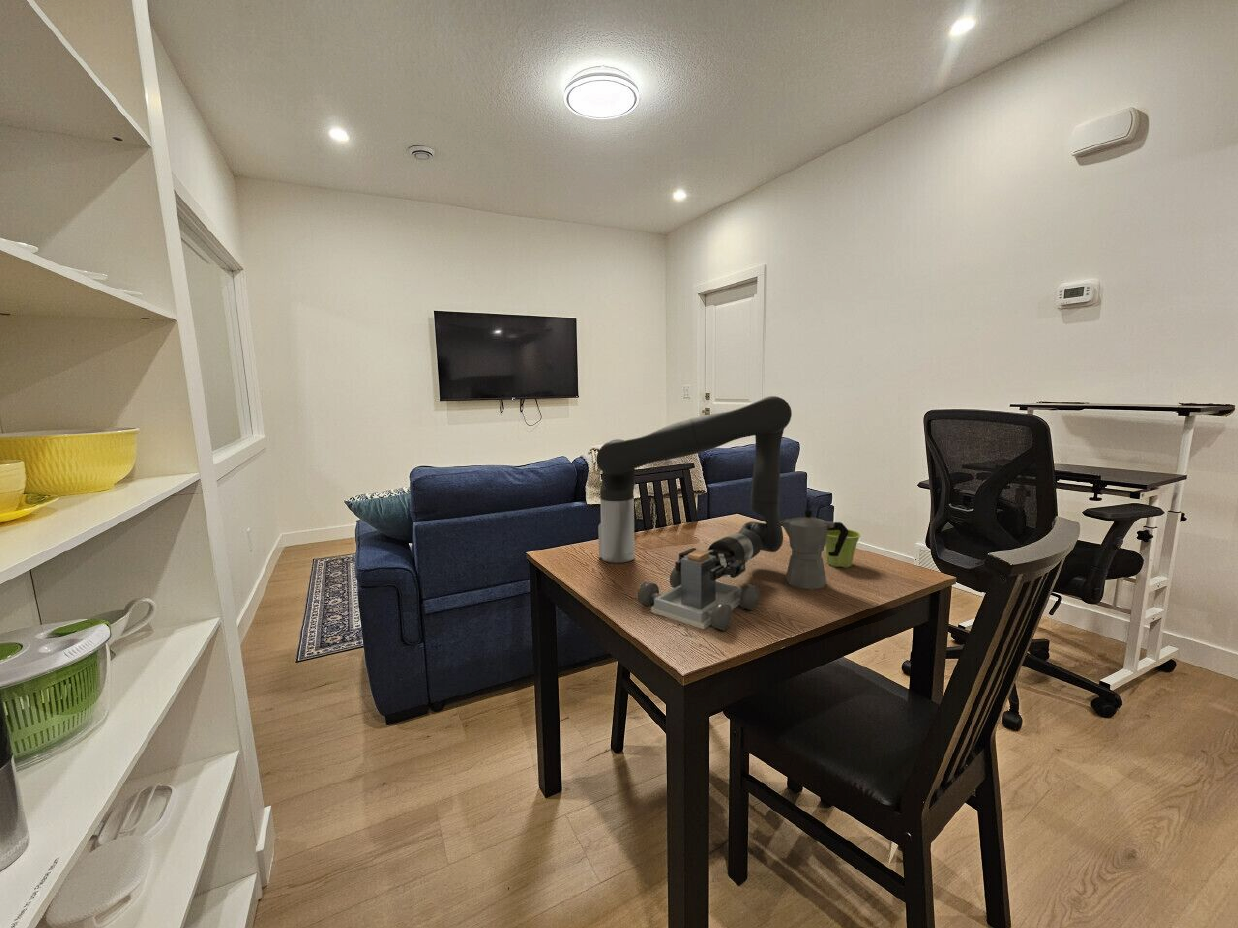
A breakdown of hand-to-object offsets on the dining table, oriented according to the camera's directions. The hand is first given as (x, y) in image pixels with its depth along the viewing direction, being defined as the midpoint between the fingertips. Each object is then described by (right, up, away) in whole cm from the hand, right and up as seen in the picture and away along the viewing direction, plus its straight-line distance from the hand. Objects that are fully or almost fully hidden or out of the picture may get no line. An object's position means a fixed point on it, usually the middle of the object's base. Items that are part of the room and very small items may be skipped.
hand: (693, 571), depth 109 cm
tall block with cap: (+1, -7, +3) cm, 8 cm away
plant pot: (+43, -4, +28) cm, 51 cm away
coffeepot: (+30, -6, +15) cm, 34 cm away
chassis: (+1, -8, +3) cm, 9 cm away
